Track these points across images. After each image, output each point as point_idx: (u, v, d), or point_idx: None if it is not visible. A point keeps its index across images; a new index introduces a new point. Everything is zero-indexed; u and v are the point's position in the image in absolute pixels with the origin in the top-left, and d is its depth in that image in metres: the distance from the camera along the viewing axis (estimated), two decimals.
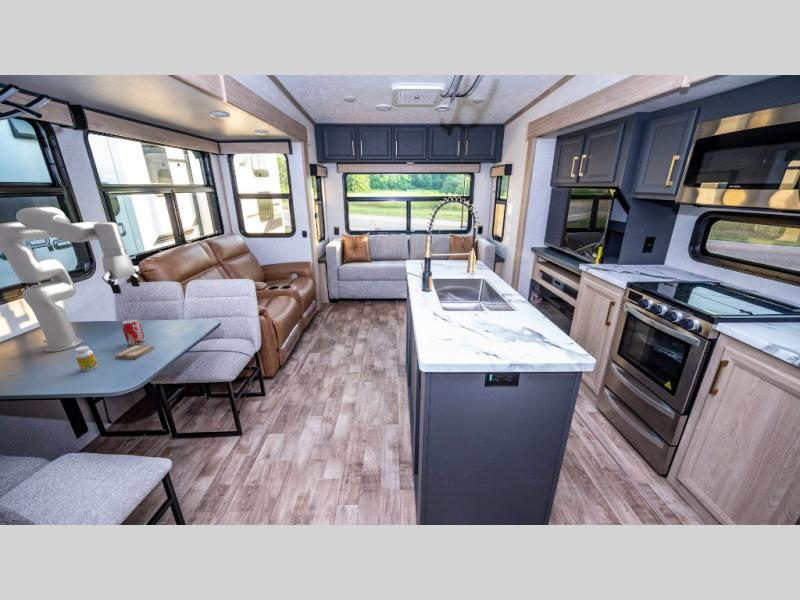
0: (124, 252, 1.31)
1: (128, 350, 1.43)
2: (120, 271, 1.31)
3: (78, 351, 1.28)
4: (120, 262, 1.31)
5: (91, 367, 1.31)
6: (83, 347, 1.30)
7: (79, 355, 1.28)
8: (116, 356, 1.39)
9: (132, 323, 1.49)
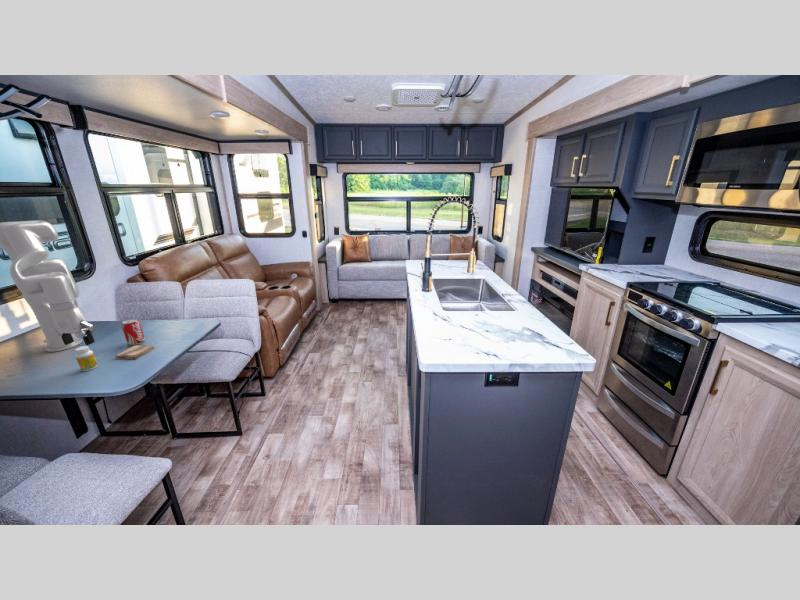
0: None
1: (128, 350, 1.43)
2: None
3: (78, 351, 1.28)
4: None
5: (91, 367, 1.31)
6: (83, 347, 1.30)
7: (79, 355, 1.28)
8: (116, 356, 1.39)
9: (132, 323, 1.49)
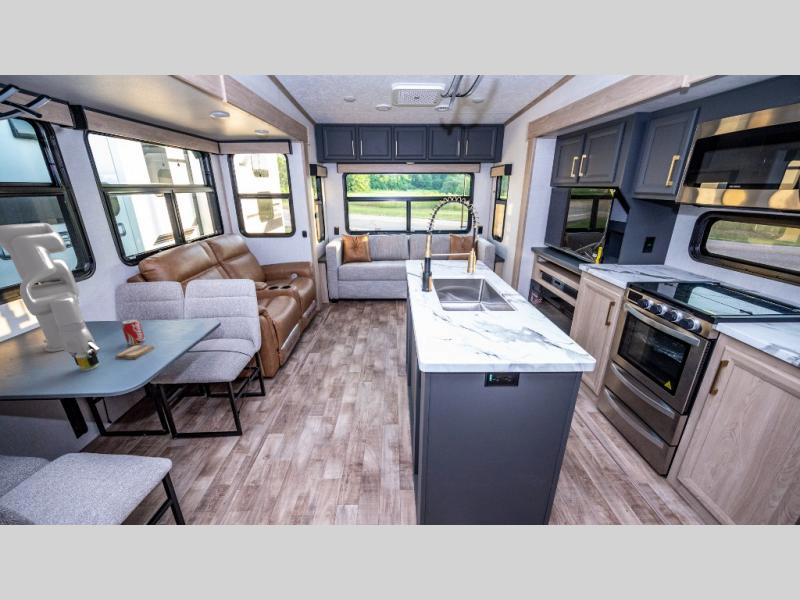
0: None
1: (128, 350, 1.43)
2: None
3: None
4: None
5: (91, 367, 1.31)
6: None
7: (79, 355, 1.28)
8: (116, 356, 1.39)
9: (132, 323, 1.49)
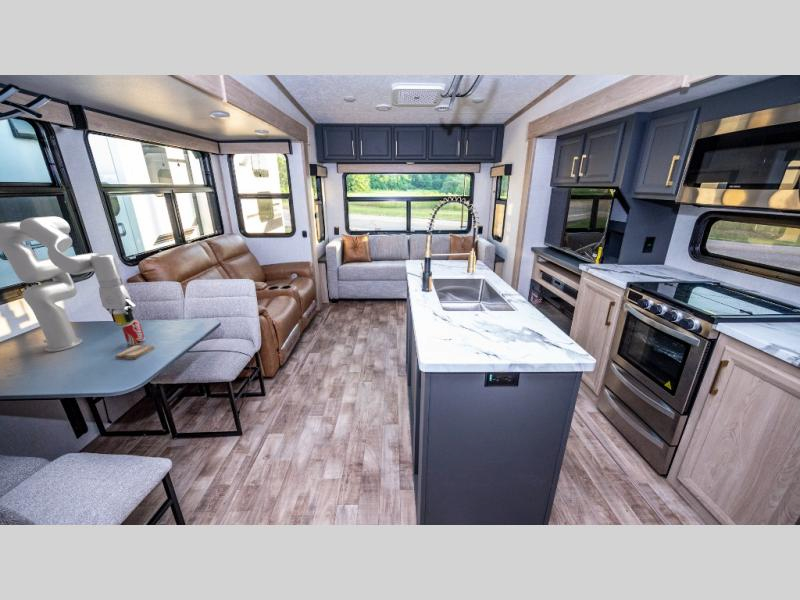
0: None
1: (128, 350, 1.43)
2: None
3: None
4: None
5: (127, 324, 1.37)
6: None
7: (117, 311, 1.34)
8: (116, 356, 1.39)
9: (132, 323, 1.49)
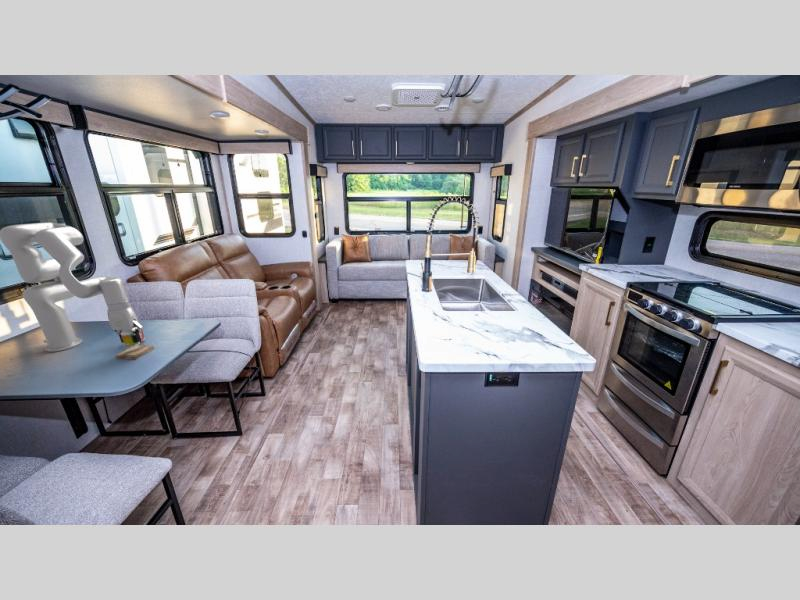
0: None
1: (128, 350, 1.43)
2: None
3: None
4: None
5: (134, 344, 1.41)
6: None
7: (124, 332, 1.38)
8: (116, 356, 1.39)
9: None
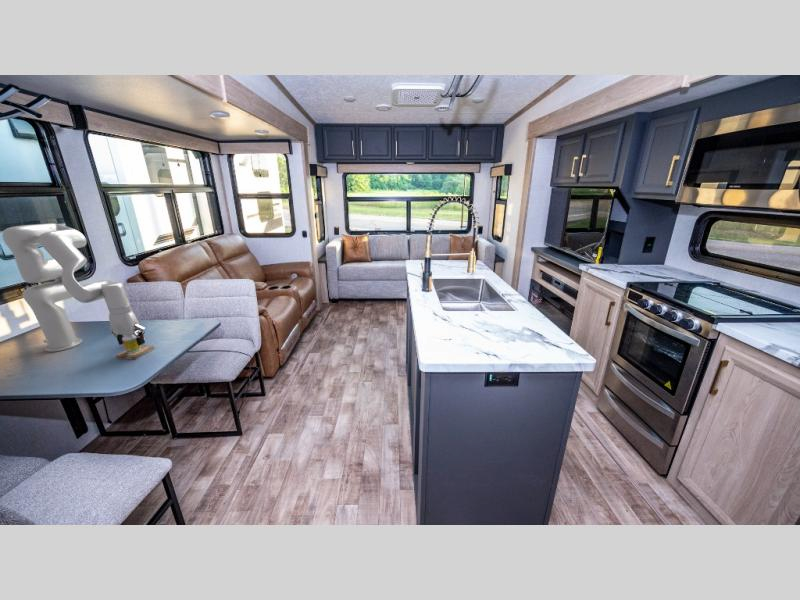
0: None
1: None
2: None
3: None
4: None
5: (136, 349, 1.42)
6: None
7: (126, 338, 1.39)
8: (116, 356, 1.39)
9: None
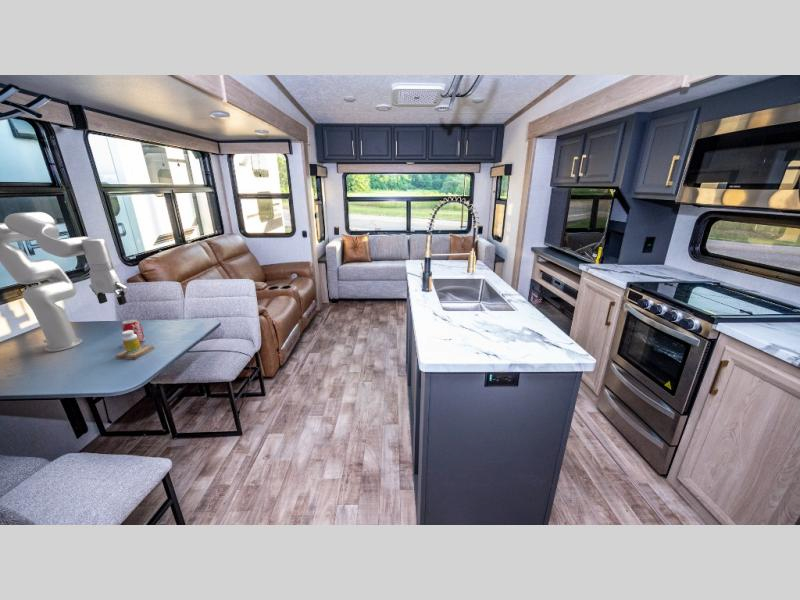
0: None
1: None
2: None
3: (125, 334, 1.39)
4: None
5: (136, 349, 1.42)
6: (129, 330, 1.41)
7: (126, 338, 1.39)
8: (116, 356, 1.39)
9: (132, 323, 1.49)
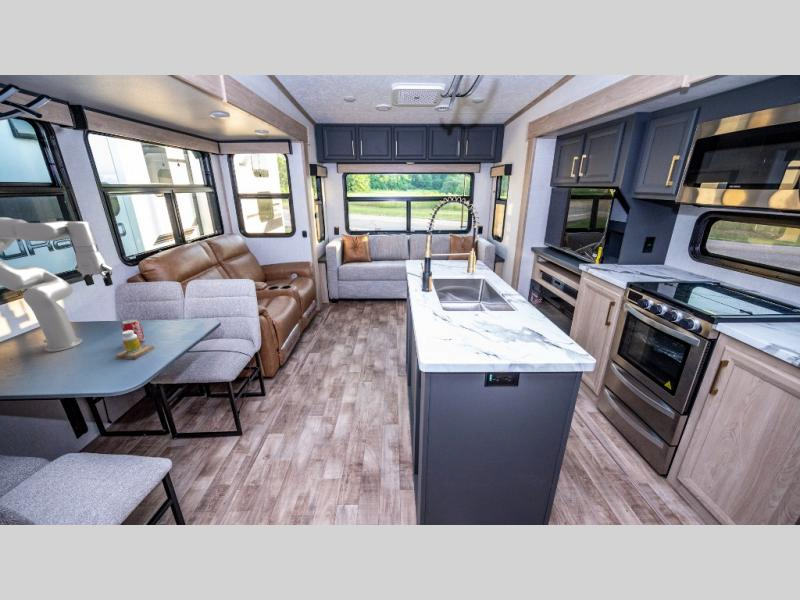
0: None
1: None
2: None
3: (125, 334, 1.39)
4: None
5: (136, 349, 1.42)
6: (129, 330, 1.41)
7: (126, 338, 1.39)
8: (116, 356, 1.39)
9: (132, 323, 1.49)
